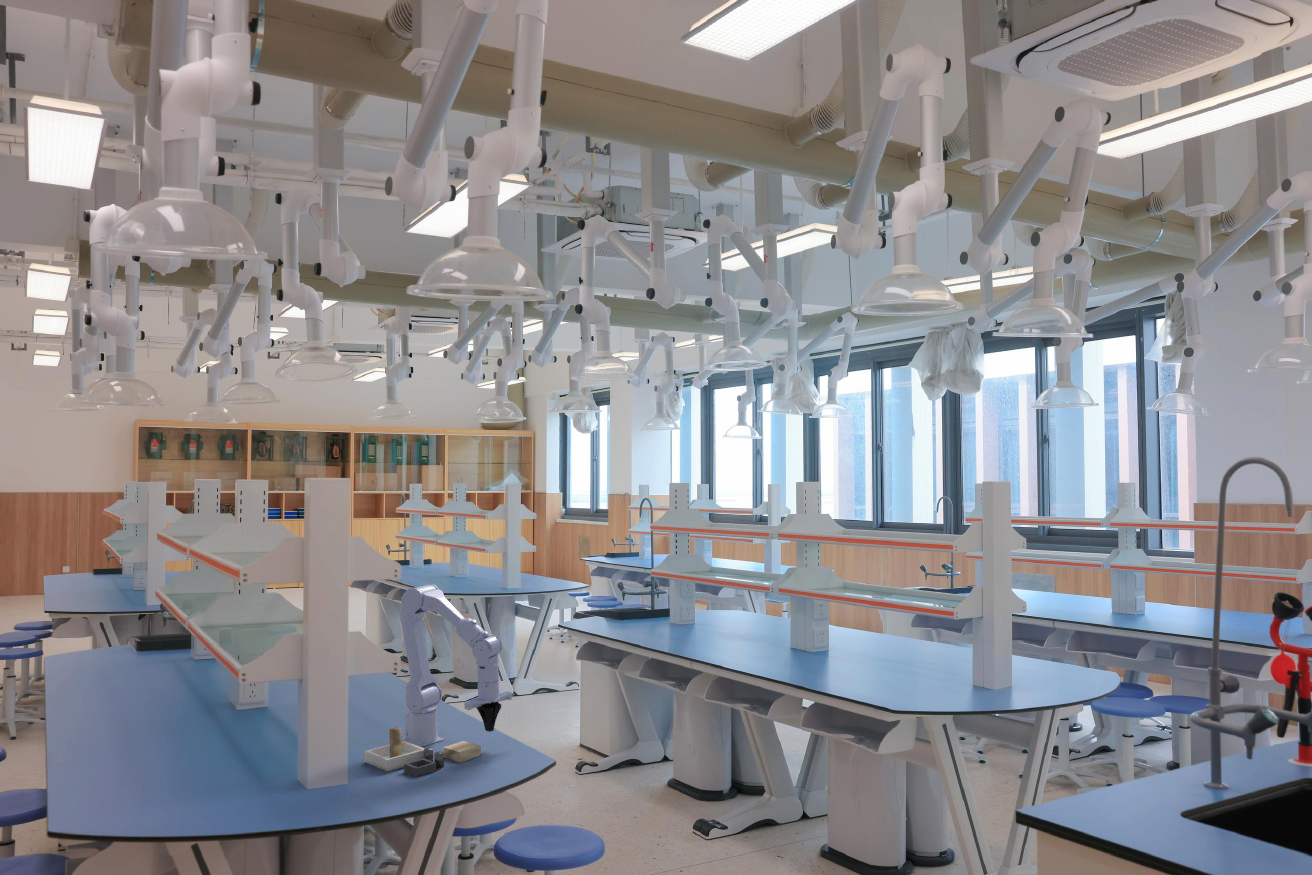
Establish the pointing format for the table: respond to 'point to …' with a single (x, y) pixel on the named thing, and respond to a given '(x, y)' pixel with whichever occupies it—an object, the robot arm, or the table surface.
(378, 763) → the tray
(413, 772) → the dowel collar
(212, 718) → the table surface
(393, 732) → the dowel
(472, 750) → the maple block
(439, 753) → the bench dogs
